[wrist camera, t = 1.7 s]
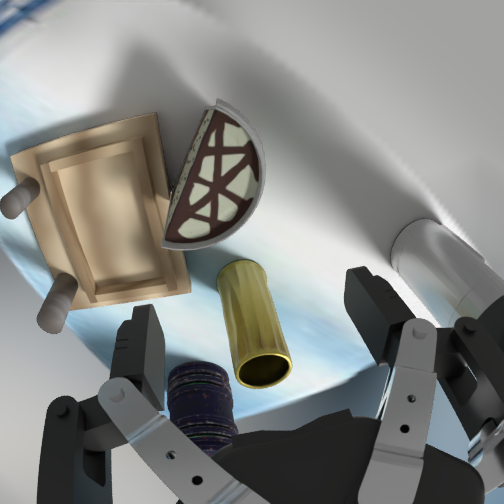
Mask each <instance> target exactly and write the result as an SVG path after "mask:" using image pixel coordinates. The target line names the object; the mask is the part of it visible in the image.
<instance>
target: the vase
mask: <svg viewBox="0 0 504 504" xmlns="http://www.w3.org/2000/svg"><path fill="white" fill-rule="evenodd" d="M217 289H218V292H219V294H220V297H221V302H222V308H223V315H224V320H225V325H226V330H227V334H228V339H229V346H230V352H231V357H232V363H233V368H234V373H235V377H236V379H237V381H238V382H239V383H240V384H241V385H243V386H245V387H248V388H251V389H263V388H268V387H271V386H274V385H276V384H278V383H280V382H281V381H283V380H284V379H285V378H286V377H287V376H288V375H289V374H290V372H291V370H292V361H291V357H290V354H289V350H288V347H287V345H286V342H285V339H284V336H283V333H282V329H281V326H280V322H279V319H278V316H277V312H276V309H275V306H274V302H273V299H272V296H271V293H270V291H269V289H268V286H267V277H266V273H265V271H264V269H263V268H262V267H261V266H260V265H258V264H257V263H255V262H252V261H248V260H240V261H235V262H232V263H230V264H228V265H227V266H225V267H224V268H223V269H222V270H221V272H220V273H219V275H218V277H217Z"/></svg>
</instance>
